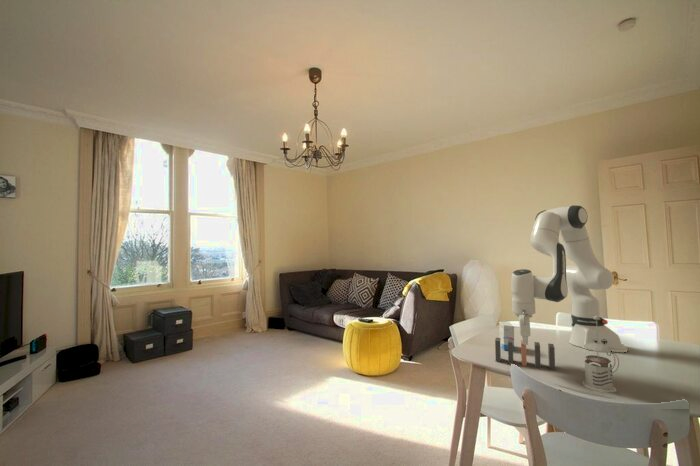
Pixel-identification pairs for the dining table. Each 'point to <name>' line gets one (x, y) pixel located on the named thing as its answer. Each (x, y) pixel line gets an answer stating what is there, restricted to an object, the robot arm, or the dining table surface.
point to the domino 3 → (523, 354)
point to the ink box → (506, 334)
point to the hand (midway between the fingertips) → (525, 340)
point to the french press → (599, 368)
